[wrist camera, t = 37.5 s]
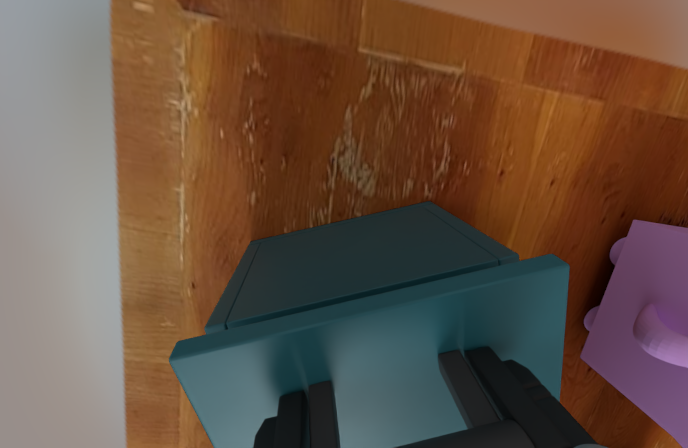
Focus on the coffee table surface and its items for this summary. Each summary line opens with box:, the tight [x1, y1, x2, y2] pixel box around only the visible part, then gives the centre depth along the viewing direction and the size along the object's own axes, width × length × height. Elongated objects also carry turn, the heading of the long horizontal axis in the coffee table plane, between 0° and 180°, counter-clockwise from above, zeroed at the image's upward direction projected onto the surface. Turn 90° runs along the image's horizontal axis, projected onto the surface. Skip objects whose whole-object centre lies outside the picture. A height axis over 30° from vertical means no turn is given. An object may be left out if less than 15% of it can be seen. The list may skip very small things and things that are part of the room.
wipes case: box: [205, 201, 519, 335], centre depth 19 cm, size 14×12×10 cm
